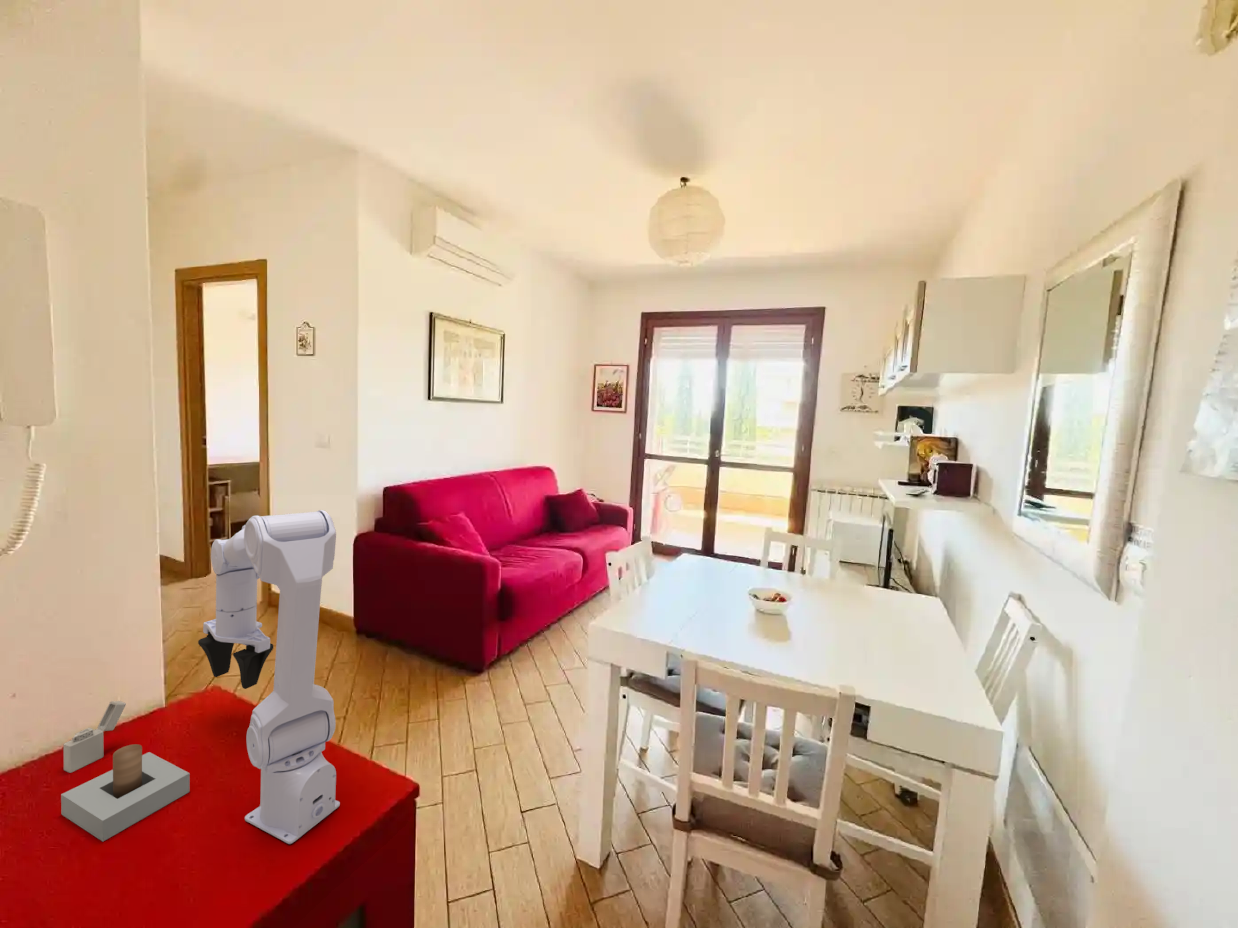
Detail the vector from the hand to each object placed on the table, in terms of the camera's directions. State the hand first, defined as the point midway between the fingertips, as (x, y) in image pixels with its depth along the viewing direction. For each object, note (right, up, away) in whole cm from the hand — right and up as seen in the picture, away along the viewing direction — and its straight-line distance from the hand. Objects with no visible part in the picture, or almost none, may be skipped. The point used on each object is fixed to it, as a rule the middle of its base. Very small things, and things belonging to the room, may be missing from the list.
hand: (235, 679), depth 90 cm
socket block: (-3, -11, -16) cm, 20 cm away
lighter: (-16, -9, -8) cm, 20 cm away
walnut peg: (-3, -11, -16) cm, 20 cm away
